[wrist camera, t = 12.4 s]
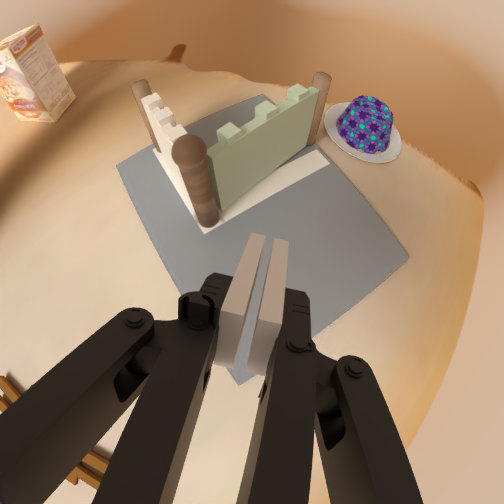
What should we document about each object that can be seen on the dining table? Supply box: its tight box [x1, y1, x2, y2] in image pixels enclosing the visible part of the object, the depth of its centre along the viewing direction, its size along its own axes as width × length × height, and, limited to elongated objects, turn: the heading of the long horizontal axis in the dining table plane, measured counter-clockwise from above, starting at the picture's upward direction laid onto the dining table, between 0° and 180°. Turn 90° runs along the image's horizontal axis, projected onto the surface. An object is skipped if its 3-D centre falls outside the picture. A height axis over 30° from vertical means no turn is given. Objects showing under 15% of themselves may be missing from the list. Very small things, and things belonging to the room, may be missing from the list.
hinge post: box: [171, 134, 219, 228], centre depth 24 cm, size 3×3×13 cm
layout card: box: [116, 94, 410, 386], centre depth 31 cm, size 30×23×1 cm
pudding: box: [324, 96, 402, 163], centre depth 33 cm, size 12×12×5 cm
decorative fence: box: [0, 376, 110, 490], centre depth 21 cm, size 25×2×10 cm
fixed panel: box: [131, 80, 188, 194], centre depth 27 cm, size 12×2×11 cm, turn 33°
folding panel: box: [206, 72, 332, 211], centre depth 27 cm, size 15×2×10 cm, turn 133°
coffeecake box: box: [0, 23, 76, 123], centre depth 29 cm, size 15×7×20 cm, turn 70°
